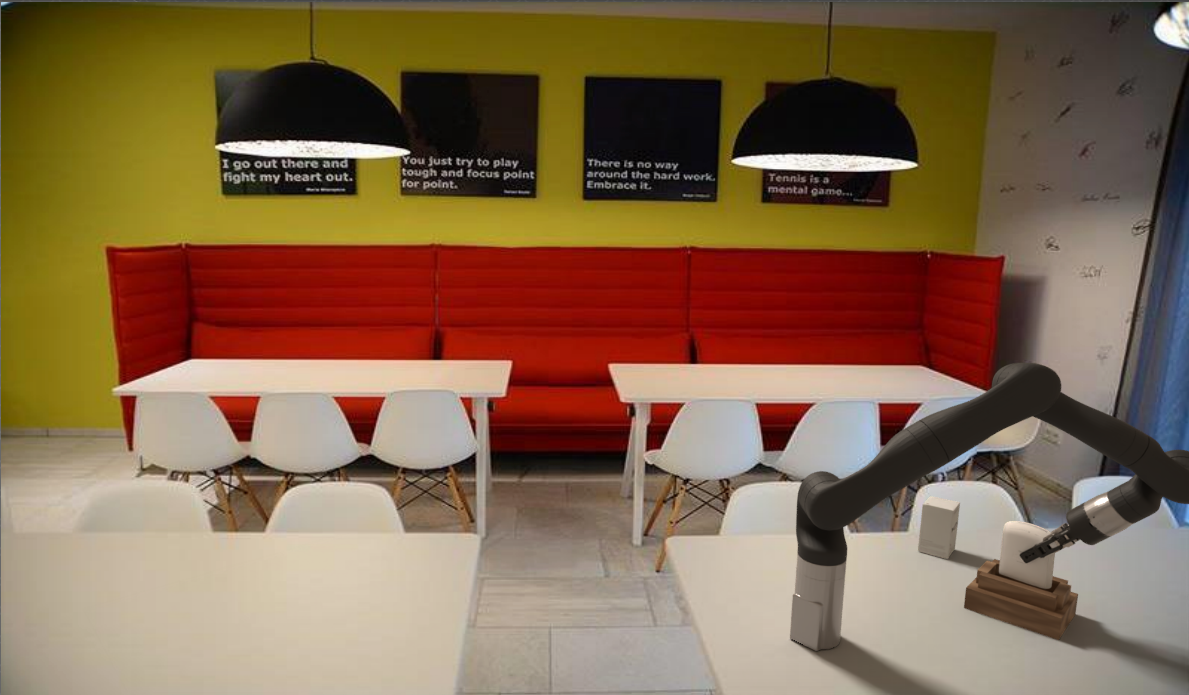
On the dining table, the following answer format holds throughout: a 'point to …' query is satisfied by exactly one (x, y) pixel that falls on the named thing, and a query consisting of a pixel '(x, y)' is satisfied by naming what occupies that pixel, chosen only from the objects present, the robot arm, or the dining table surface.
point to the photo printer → (1018, 541)
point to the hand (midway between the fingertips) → (1027, 555)
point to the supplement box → (938, 527)
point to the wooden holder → (1021, 601)
